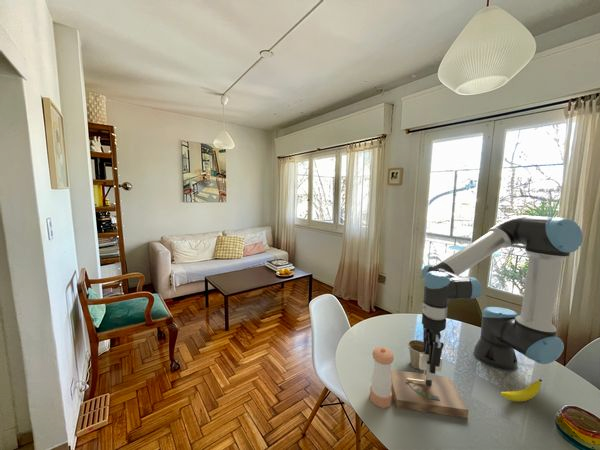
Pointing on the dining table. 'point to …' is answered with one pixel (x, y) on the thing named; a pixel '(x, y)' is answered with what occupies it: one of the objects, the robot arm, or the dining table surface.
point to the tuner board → (427, 394)
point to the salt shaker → (381, 377)
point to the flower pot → (415, 352)
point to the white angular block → (425, 368)
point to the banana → (523, 392)
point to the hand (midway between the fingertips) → (429, 376)
